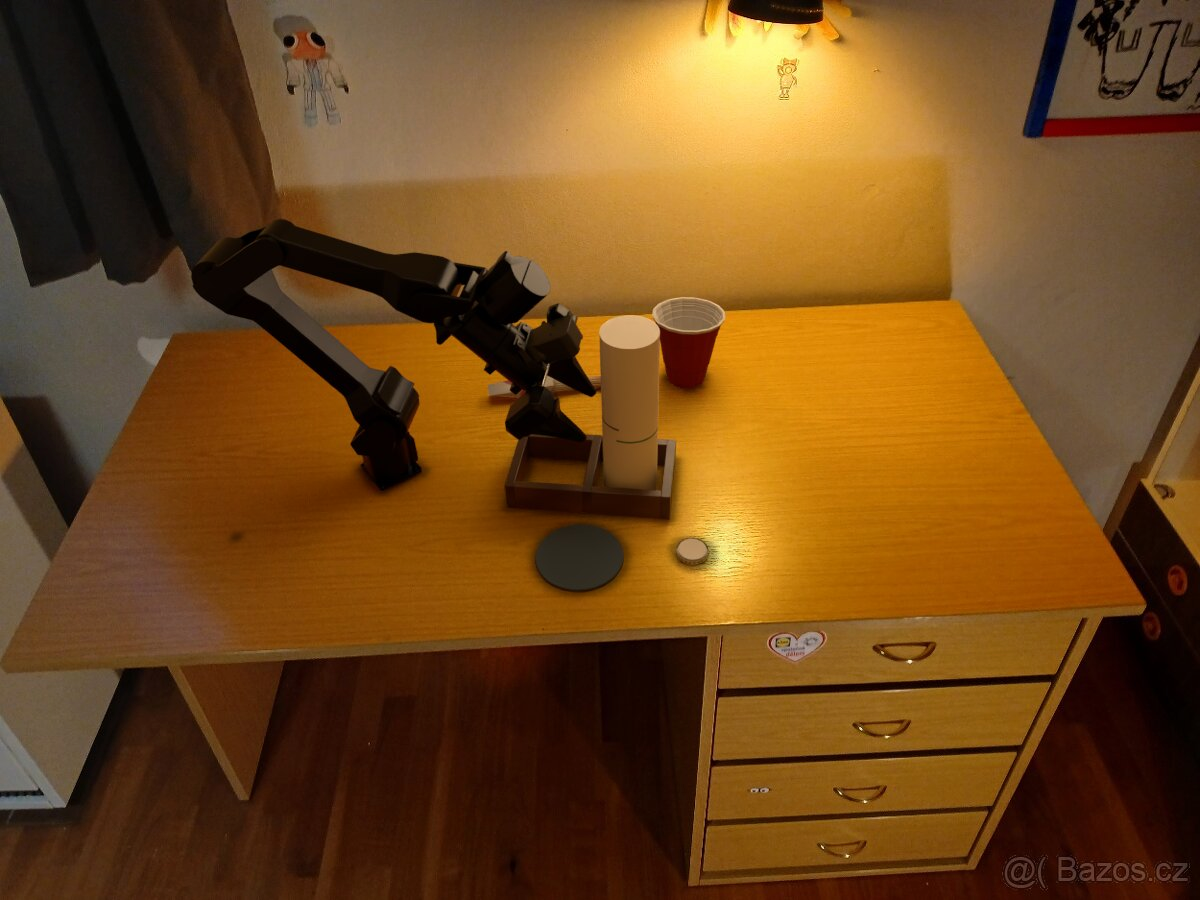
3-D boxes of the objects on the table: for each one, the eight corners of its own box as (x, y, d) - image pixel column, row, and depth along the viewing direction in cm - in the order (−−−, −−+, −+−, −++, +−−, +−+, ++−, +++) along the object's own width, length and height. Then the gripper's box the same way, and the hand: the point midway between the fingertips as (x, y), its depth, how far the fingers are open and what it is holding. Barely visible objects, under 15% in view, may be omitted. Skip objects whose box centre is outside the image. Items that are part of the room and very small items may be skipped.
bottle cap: (703, 567, 112) (703, 564, 111) (672, 559, 113) (672, 556, 113) (712, 545, 115) (712, 541, 114) (681, 537, 116) (681, 534, 115)
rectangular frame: (507, 507, 121) (504, 485, 118) (523, 451, 129) (521, 429, 127) (669, 519, 118) (670, 497, 116) (675, 461, 127) (676, 439, 124)
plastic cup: (726, 362, 144) (731, 297, 137) (714, 403, 137) (719, 336, 129) (659, 353, 147) (660, 288, 139) (643, 392, 139) (644, 326, 131)
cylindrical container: (625, 461, 127) (624, 308, 111) (667, 483, 124) (672, 328, 107) (593, 489, 123) (586, 335, 107) (635, 512, 120) (635, 356, 103)
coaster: (570, 606, 108) (570, 604, 108) (518, 552, 115) (518, 550, 114) (641, 562, 113) (641, 560, 113) (588, 513, 120) (588, 511, 119)
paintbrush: (487, 374, 138) (617, 366, 141) (488, 389, 140) (616, 380, 142) (488, 389, 135) (621, 381, 138) (489, 404, 137) (620, 395, 139)
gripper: (523, 347, 99) (625, 431, 105) (552, 262, 113) (640, 340, 119) (462, 401, 105) (562, 477, 111) (496, 313, 119) (583, 385, 125)
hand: (589, 416), depth 116 cm, fingers open, 9 cm apart
